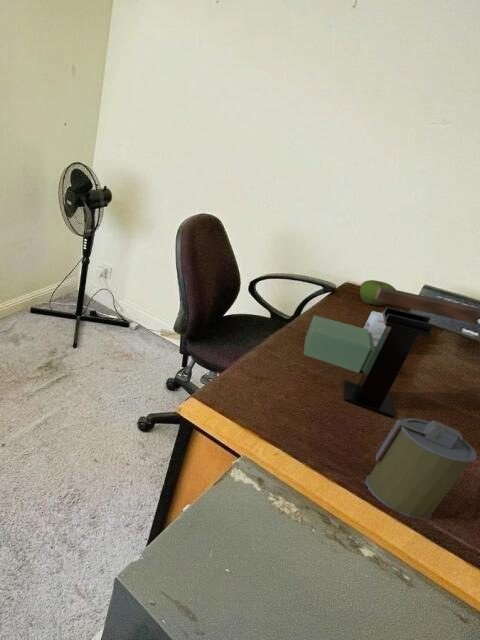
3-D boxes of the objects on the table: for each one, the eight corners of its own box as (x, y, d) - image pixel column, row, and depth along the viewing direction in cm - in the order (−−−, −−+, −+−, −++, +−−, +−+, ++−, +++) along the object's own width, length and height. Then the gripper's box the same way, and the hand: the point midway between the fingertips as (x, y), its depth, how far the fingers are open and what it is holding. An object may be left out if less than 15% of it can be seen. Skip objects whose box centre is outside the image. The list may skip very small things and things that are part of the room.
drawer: (380, 359, 130) (390, 339, 127) (383, 377, 122) (394, 356, 118) (313, 339, 139) (321, 320, 136) (312, 355, 131) (321, 335, 128)
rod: (489, 322, 96) (496, 311, 95) (493, 328, 94) (499, 317, 93) (375, 296, 108) (379, 286, 107) (375, 300, 106) (380, 290, 105)
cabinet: (356, 354, 134) (368, 329, 130) (358, 373, 125) (370, 347, 121) (304, 338, 141) (314, 315, 138) (303, 356, 132) (312, 331, 129)
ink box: (390, 347, 137) (406, 317, 133) (395, 354, 133) (412, 324, 129) (357, 338, 141) (372, 309, 136) (361, 346, 137) (376, 316, 133)
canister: (429, 495, 88) (479, 427, 80) (435, 532, 81) (490, 461, 72) (362, 465, 94) (402, 399, 86) (362, 496, 87) (406, 428, 79)
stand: (389, 398, 115) (433, 314, 104) (393, 419, 108) (441, 331, 97) (342, 383, 121) (380, 302, 110) (343, 401, 114) (384, 317, 103)
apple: (371, 310, 159) (383, 288, 155) (346, 297, 169) (356, 276, 165) (396, 310, 160) (408, 288, 156) (370, 296, 170) (381, 275, 166)
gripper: (544, 331, 97) (482, 290, 101) (580, 374, 82) (506, 324, 87) (511, 345, 101) (453, 305, 105) (540, 388, 86) (472, 340, 91)
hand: (478, 314), depth 96 cm, fingers closed on rod, 3 cm apart
